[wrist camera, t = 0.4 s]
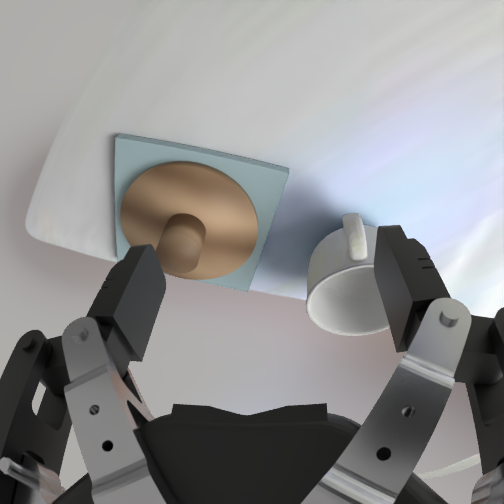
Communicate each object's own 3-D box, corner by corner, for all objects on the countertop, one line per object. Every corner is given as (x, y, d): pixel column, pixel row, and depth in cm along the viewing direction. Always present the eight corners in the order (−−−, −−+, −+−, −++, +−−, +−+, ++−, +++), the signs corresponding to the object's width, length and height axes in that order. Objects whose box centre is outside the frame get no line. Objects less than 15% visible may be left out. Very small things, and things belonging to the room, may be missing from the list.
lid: (124, 148, 27) (101, 175, 23) (274, 180, 28) (274, 211, 25) (125, 258, 36) (110, 289, 32) (241, 284, 37) (237, 318, 34)
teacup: (388, 281, 37) (403, 335, 31) (302, 286, 39) (305, 342, 33) (408, 182, 28) (440, 232, 22) (300, 184, 30) (306, 238, 24)
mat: (119, 133, 27) (115, 137, 26) (288, 168, 28) (289, 173, 28) (120, 257, 37) (117, 262, 36) (248, 285, 39) (247, 291, 38)
